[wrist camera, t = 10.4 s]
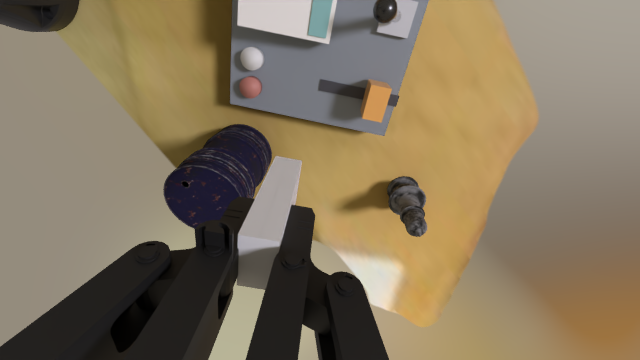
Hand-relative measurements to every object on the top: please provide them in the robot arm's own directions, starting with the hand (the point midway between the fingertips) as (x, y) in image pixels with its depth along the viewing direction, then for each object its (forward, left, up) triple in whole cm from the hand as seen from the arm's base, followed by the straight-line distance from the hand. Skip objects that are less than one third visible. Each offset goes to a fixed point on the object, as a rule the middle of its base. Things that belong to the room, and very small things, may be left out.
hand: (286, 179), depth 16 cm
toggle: (+7, +10, -22) cm, 26 cm away
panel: (-1, +5, -27) cm, 28 cm away
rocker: (-5, +9, -21) cm, 23 cm away
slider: (+7, +1, -23) cm, 24 cm away
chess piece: (+17, -14, -27) cm, 35 cm away
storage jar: (-11, -13, -27) cm, 32 cm away
